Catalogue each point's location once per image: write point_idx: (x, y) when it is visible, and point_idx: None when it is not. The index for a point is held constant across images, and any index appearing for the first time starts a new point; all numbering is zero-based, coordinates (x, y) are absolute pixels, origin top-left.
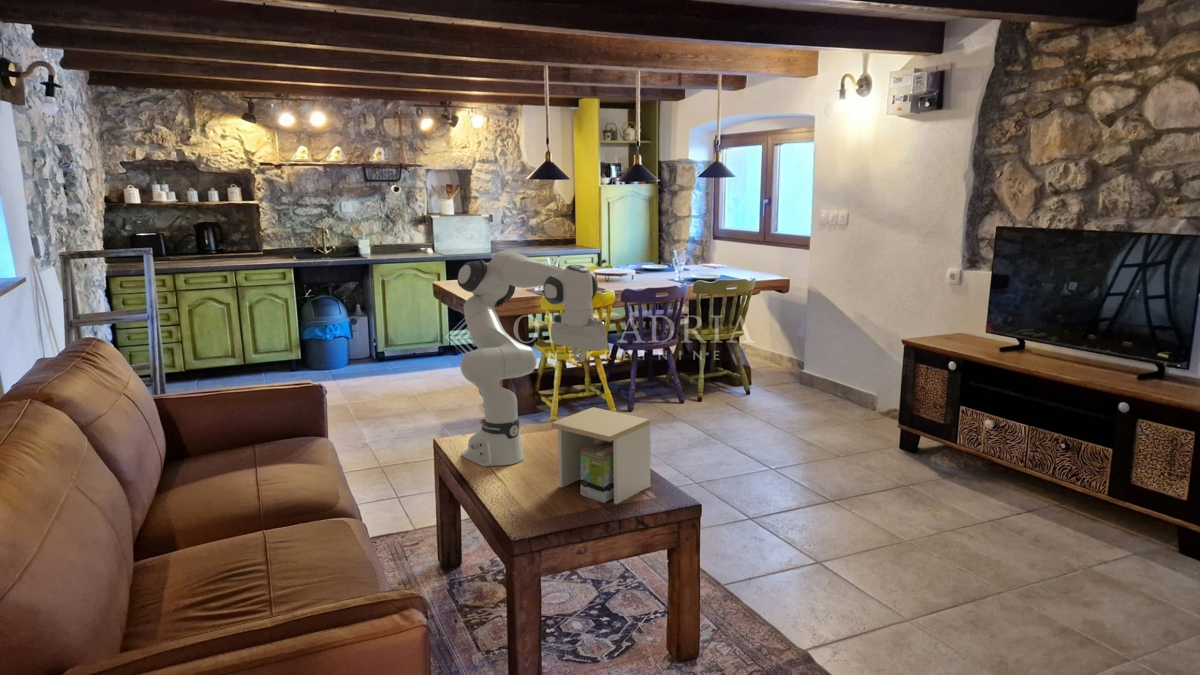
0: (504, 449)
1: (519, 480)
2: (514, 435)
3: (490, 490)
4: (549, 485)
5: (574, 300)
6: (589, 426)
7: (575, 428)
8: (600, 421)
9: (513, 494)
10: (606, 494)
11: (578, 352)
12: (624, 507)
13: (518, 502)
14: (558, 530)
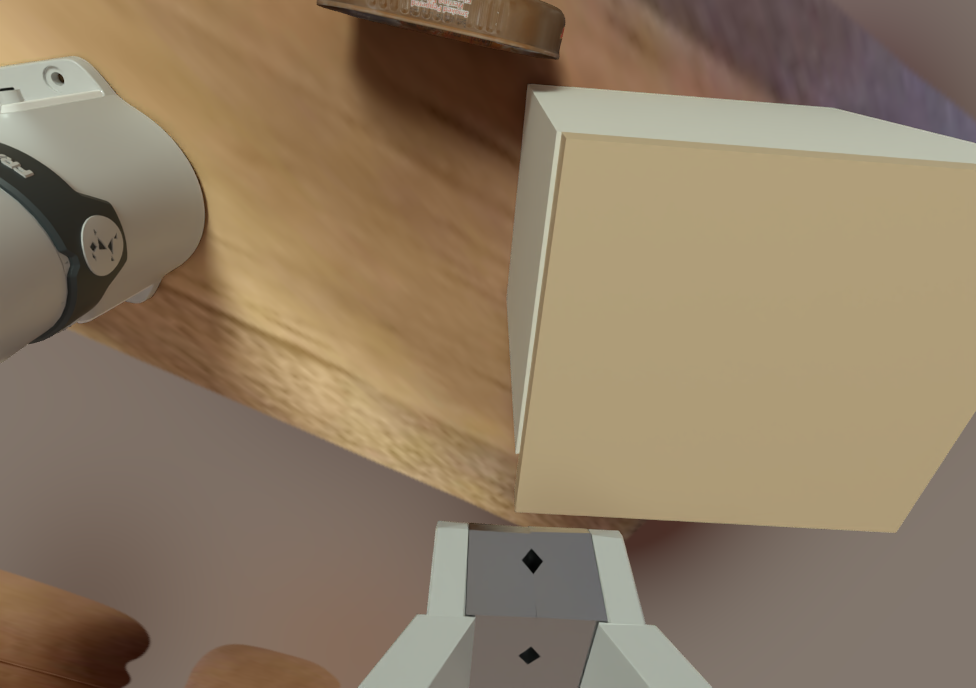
0: (149, 264)
1: (352, 323)
2: (121, 238)
3: (343, 420)
4: (469, 305)
5: None
6: (737, 473)
7: (679, 520)
8: (766, 385)
9: (422, 409)
10: None
11: (444, 671)
12: None
13: (474, 438)
14: None
